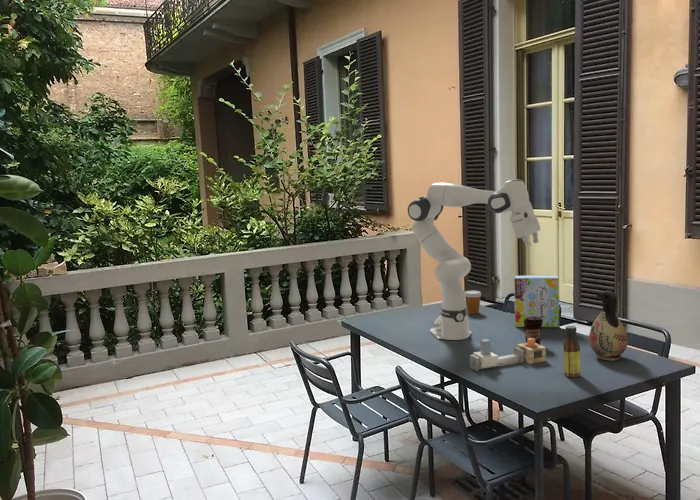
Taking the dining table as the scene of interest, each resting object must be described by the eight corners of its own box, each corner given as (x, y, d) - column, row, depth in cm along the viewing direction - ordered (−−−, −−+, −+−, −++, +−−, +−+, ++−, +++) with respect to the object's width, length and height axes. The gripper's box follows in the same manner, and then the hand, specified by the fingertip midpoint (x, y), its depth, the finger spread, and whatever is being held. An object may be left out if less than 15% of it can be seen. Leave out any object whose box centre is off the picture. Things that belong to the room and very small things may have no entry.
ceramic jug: (582, 353, 268) (582, 286, 263) (616, 350, 269) (617, 284, 264) (600, 365, 251) (601, 294, 247) (636, 363, 252) (638, 292, 247)
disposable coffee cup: (471, 309, 350) (471, 289, 348) (485, 312, 343) (484, 291, 341) (460, 313, 344) (460, 292, 342) (474, 315, 337) (474, 294, 335)
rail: (470, 367, 256) (469, 354, 255) (516, 359, 263) (516, 347, 262) (476, 371, 251) (476, 358, 250) (523, 362, 258) (523, 350, 258)
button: (525, 349, 263) (525, 338, 262) (532, 348, 264) (532, 337, 263) (530, 351, 260) (530, 340, 259) (536, 350, 261) (536, 339, 260)
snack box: (558, 323, 315) (558, 274, 311) (559, 328, 306) (559, 278, 302) (514, 322, 320) (514, 274, 316) (514, 327, 312) (514, 277, 308)
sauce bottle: (583, 374, 242) (583, 326, 239) (576, 379, 237) (577, 330, 234) (566, 371, 246) (567, 323, 243) (560, 375, 242) (560, 327, 239)
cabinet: (517, 357, 266) (517, 344, 265) (532, 354, 268) (532, 341, 267) (530, 363, 257) (530, 350, 256) (545, 361, 259) (546, 347, 259)
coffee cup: (543, 348, 276) (543, 320, 275) (524, 347, 278) (524, 320, 276) (541, 342, 285) (541, 315, 283) (523, 342, 287) (523, 315, 285)
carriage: (473, 362, 258) (473, 338, 256) (487, 360, 260) (487, 336, 259) (483, 368, 250) (483, 343, 249) (498, 366, 253) (498, 341, 251)
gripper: (525, 213, 278) (534, 242, 278) (507, 219, 262) (517, 250, 262) (538, 209, 274) (547, 239, 274) (521, 215, 258) (530, 246, 258)
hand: (532, 244), depth 268 cm, fingers open, 8 cm apart
